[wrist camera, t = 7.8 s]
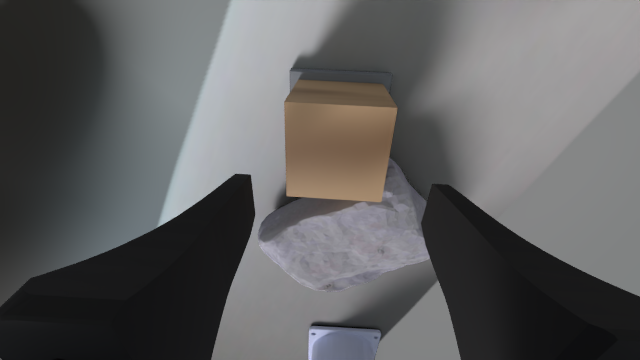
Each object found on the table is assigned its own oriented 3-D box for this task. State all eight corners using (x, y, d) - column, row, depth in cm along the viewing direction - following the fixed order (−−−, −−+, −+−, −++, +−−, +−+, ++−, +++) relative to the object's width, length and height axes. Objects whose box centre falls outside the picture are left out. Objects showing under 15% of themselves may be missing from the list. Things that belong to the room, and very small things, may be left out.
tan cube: (372, 160, 20) (381, 202, 15) (298, 155, 20) (286, 196, 15) (382, 83, 17) (397, 107, 13) (298, 79, 17) (284, 101, 13)
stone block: (435, 210, 25) (387, 139, 19) (456, 262, 22) (407, 199, 15) (321, 253, 30) (251, 209, 23) (325, 302, 26) (245, 266, 20)
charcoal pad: (376, 159, 21) (377, 165, 20) (293, 155, 21) (291, 160, 20) (390, 72, 18) (392, 75, 17) (291, 68, 18) (289, 71, 17)
